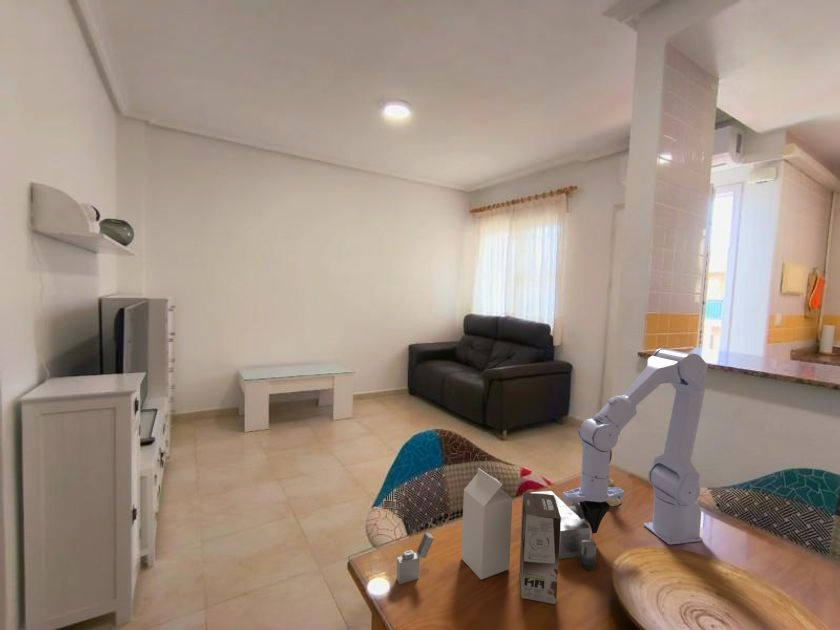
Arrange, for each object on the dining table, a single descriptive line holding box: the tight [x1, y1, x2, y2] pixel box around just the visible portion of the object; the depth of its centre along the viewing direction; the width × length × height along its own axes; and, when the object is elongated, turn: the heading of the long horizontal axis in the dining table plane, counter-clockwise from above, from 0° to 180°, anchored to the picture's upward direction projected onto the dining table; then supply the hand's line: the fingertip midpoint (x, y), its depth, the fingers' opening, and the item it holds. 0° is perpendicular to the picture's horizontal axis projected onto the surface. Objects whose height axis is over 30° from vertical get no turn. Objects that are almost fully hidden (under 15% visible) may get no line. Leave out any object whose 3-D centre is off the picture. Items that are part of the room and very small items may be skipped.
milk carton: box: [460, 467, 513, 580], centre depth 82 cm, size 7×7×19 cm
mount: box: [531, 490, 591, 560], centre depth 93 cm, size 7×16×6 cm, turn 12°
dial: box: [578, 538, 597, 572], centre depth 82 cm, size 3×3×6 cm
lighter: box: [396, 532, 434, 585], centre depth 78 cm, size 7×2×8 cm, turn 115°
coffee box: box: [519, 491, 561, 605], centre depth 77 cm, size 9×6×16 cm
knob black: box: [568, 502, 585, 519], centre depth 98 cm, size 8×4×4 cm, turn 102°
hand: (591, 530), depth 91 cm, fingers closed
